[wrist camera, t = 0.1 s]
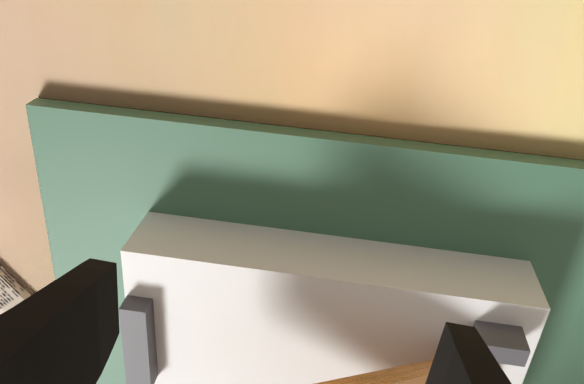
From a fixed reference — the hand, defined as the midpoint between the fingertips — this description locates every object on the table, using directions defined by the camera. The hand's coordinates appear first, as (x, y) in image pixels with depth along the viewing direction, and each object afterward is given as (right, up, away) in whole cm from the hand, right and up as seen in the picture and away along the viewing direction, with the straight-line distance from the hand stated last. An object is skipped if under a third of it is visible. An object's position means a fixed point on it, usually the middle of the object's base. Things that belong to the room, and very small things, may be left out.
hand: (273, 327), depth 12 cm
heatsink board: (+3, -2, +12) cm, 13 cm away
